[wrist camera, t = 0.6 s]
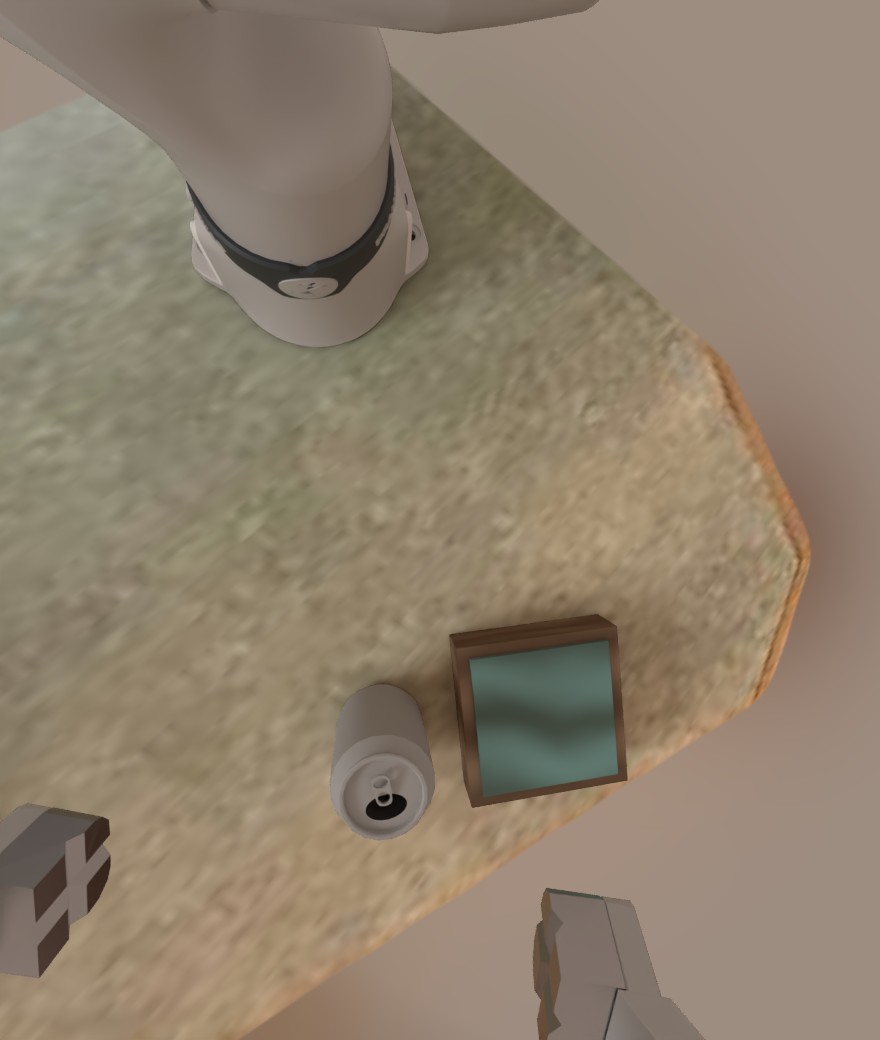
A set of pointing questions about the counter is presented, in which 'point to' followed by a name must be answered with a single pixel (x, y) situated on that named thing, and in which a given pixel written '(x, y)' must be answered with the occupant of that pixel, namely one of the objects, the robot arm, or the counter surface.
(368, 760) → the can
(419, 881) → the counter surface
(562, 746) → the plinth
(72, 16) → the robot arm
